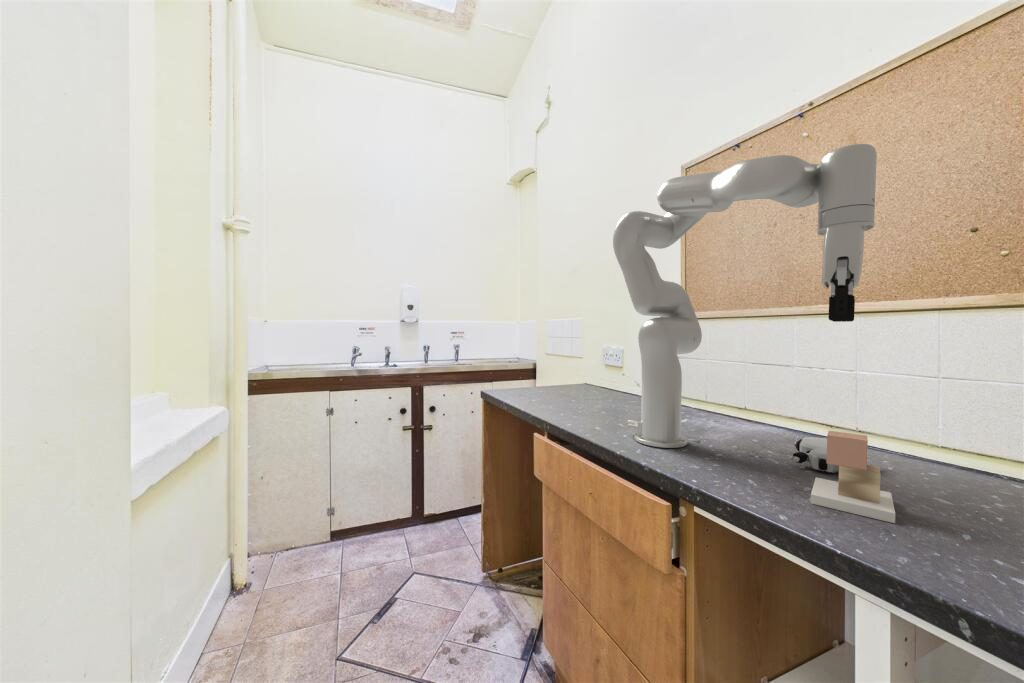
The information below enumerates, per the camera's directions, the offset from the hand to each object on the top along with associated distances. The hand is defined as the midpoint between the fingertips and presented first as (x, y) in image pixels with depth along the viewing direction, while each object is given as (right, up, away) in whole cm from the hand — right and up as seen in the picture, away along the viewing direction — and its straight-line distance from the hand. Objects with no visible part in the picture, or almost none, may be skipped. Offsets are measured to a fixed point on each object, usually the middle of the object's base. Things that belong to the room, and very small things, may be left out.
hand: (841, 320), depth 69 cm
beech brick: (-1, -29, -4) cm, 29 cm away
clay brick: (-2, -24, -3) cm, 24 cm away
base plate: (-1, -30, -3) cm, 31 cm away
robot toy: (+9, -30, +14) cm, 35 cm away
